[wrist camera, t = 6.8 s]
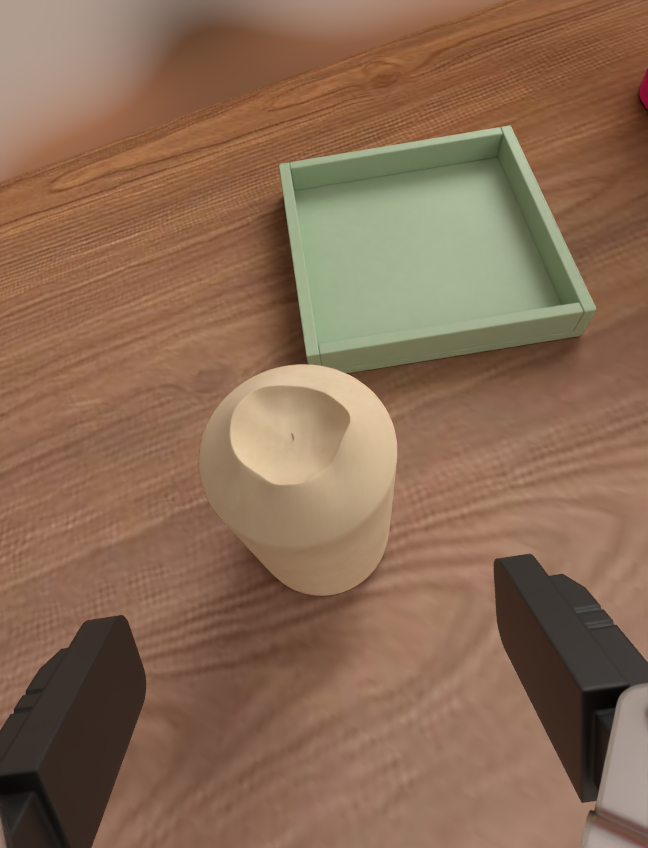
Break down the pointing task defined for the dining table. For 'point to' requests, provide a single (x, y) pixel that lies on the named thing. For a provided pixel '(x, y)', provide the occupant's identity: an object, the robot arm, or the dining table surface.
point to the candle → (304, 475)
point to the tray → (427, 253)
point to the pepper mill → (644, 90)
